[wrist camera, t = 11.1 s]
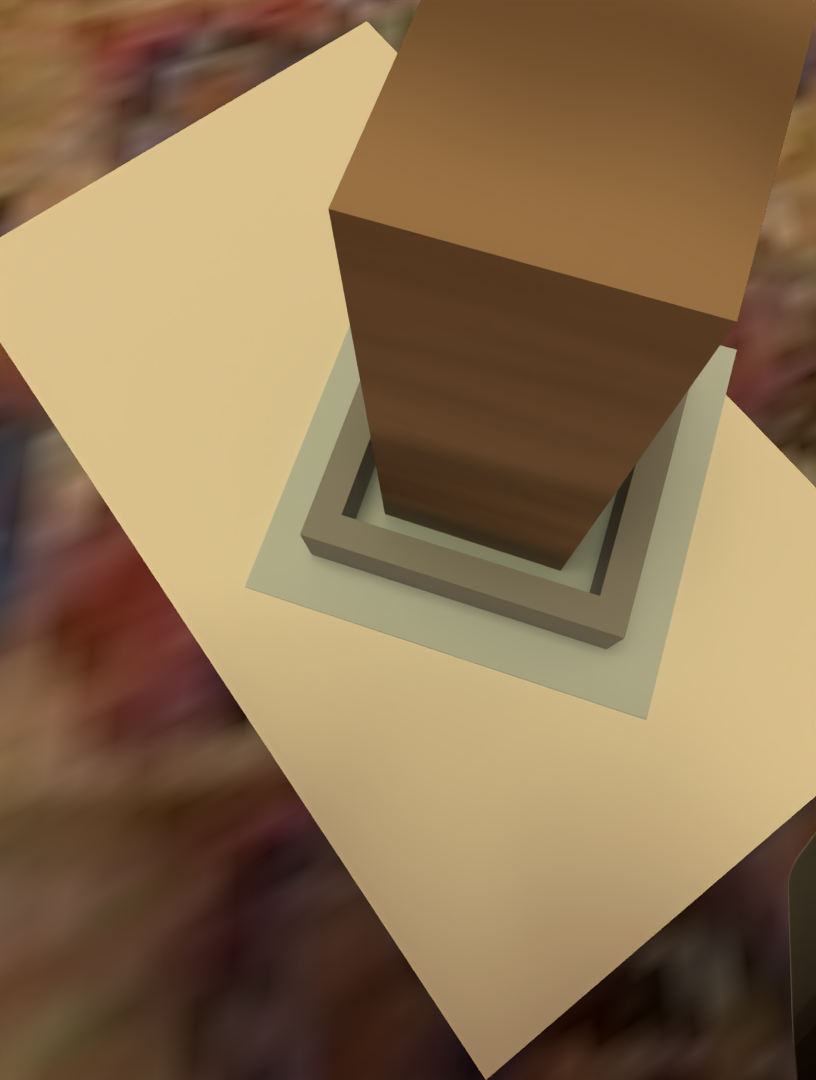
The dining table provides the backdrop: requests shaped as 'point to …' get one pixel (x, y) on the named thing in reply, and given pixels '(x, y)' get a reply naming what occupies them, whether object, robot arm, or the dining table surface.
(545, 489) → the walnut pillar
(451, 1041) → the dining table surface
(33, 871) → the dining table surface
